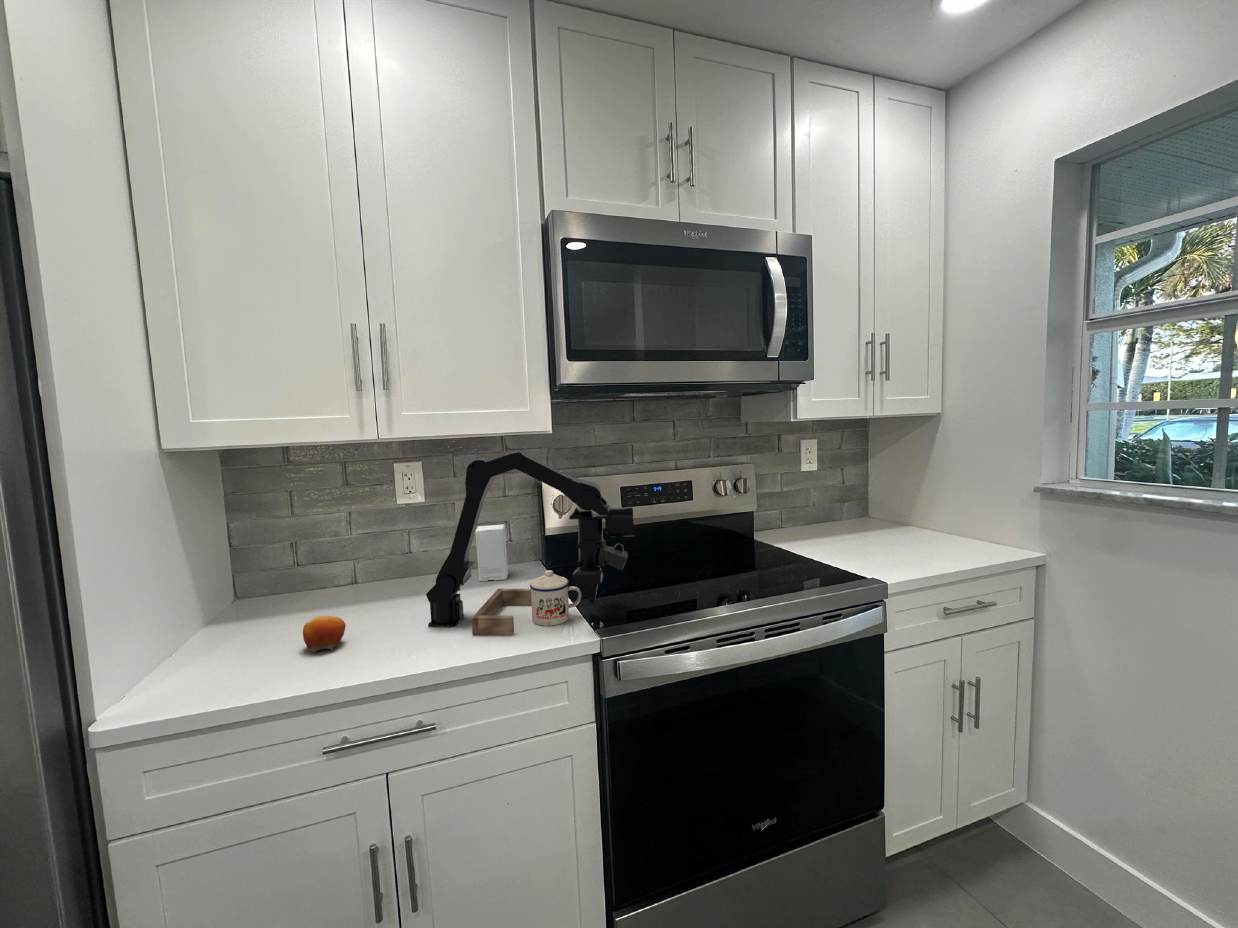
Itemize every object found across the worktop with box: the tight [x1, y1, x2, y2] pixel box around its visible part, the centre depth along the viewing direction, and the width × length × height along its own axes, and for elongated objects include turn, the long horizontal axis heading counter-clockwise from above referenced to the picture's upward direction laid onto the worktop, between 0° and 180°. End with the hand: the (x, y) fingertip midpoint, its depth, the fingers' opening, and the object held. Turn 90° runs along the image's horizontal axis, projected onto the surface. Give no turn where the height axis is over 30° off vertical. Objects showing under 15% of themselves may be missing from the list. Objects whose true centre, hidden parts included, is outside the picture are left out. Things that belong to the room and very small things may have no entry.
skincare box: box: [474, 524, 509, 582], centre depth 161 cm, size 8×7×16 cm
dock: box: [471, 588, 532, 637], centre depth 129 cm, size 9×20×4 cm, turn 176°
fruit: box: [302, 615, 347, 655], centre depth 115 cm, size 8×8×8 cm
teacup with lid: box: [529, 569, 582, 627], centre depth 128 cm, size 12×9×12 cm
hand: (592, 602), depth 128 cm, fingers closed
